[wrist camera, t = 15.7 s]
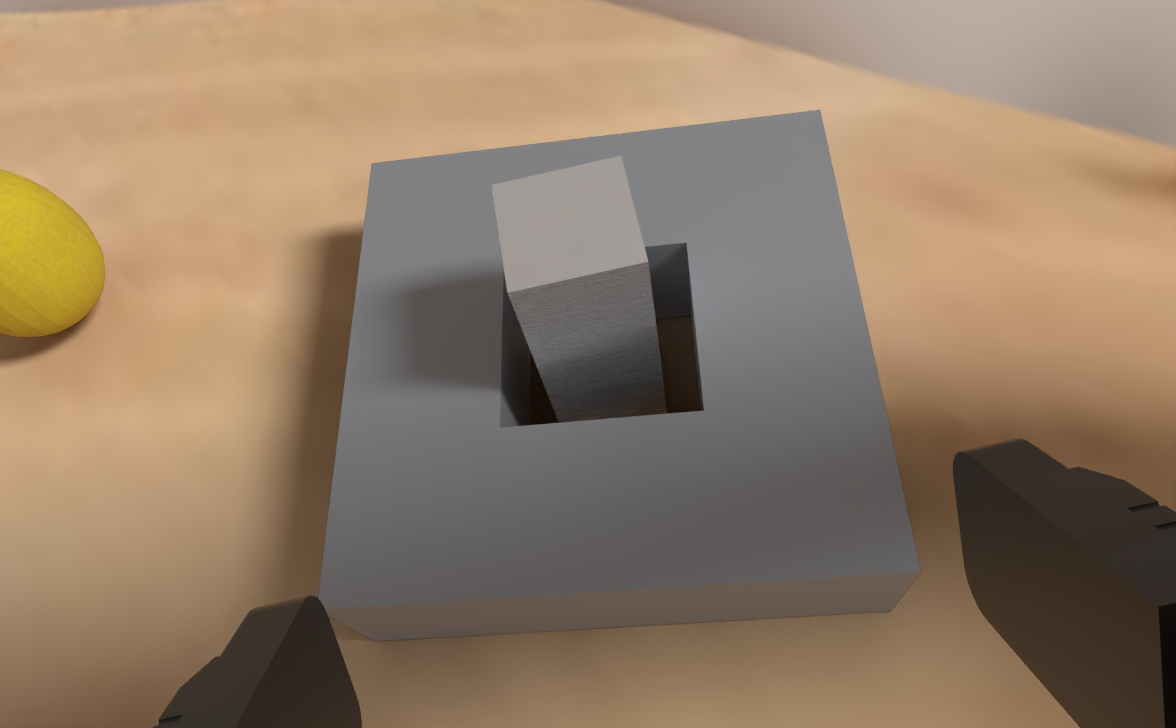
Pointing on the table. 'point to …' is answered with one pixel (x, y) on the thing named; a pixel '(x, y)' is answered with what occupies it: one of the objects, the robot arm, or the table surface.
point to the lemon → (44, 261)
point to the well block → (616, 445)
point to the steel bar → (582, 289)
